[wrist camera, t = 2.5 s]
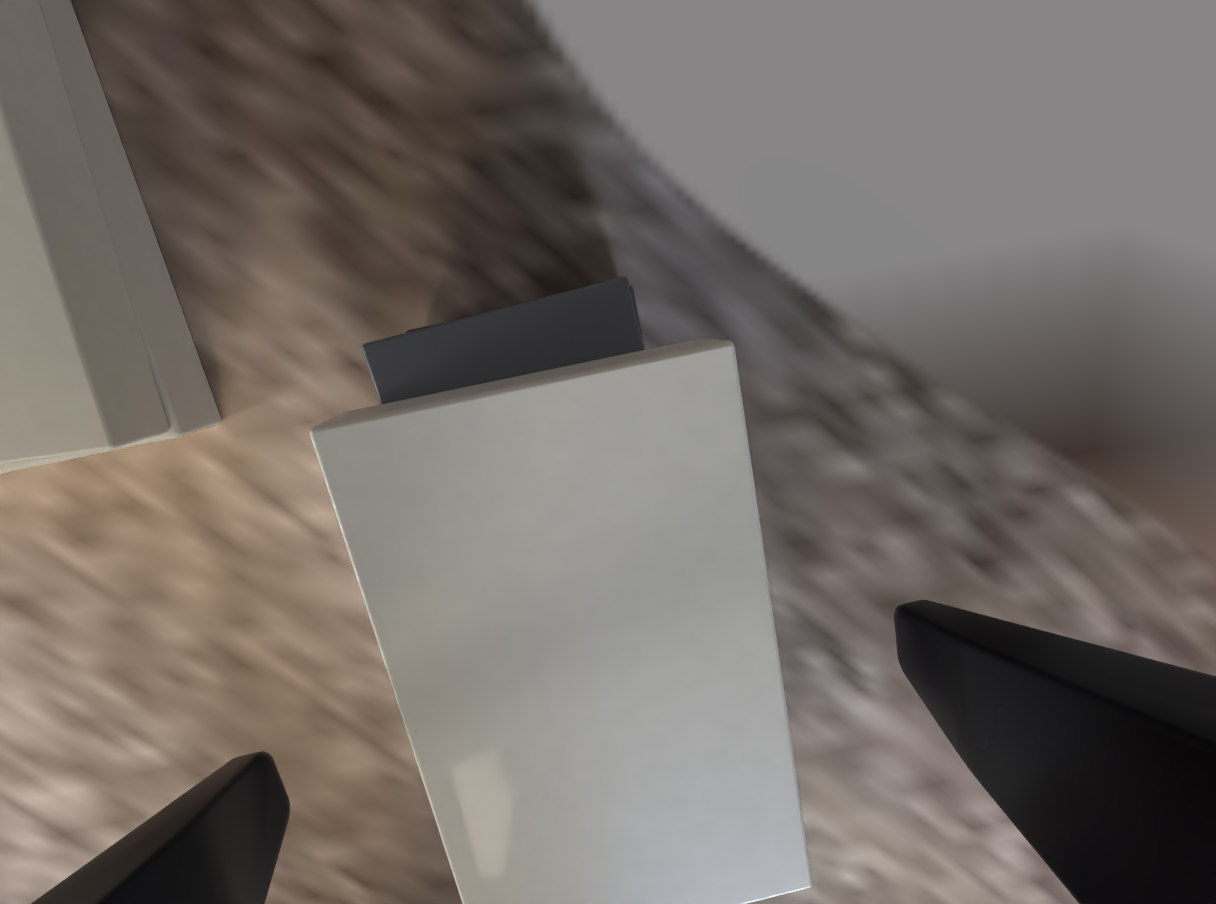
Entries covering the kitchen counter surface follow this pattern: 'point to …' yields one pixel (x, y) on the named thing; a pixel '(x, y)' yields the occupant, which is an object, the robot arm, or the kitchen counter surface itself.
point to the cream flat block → (79, 265)
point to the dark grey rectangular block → (507, 342)
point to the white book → (580, 628)
